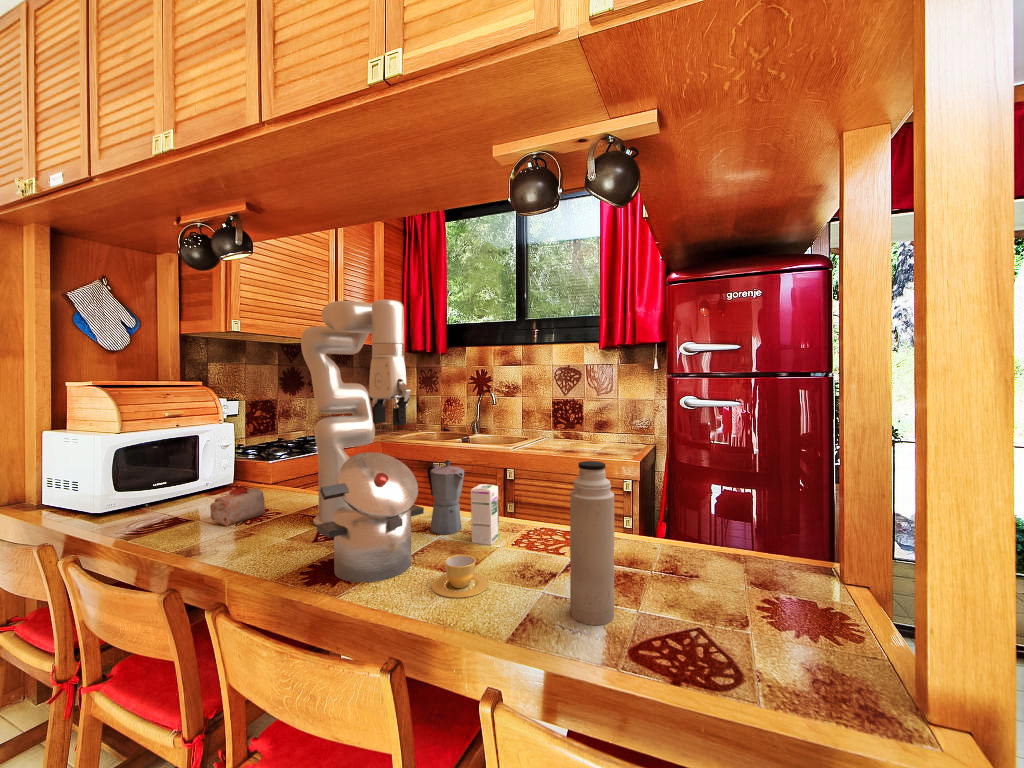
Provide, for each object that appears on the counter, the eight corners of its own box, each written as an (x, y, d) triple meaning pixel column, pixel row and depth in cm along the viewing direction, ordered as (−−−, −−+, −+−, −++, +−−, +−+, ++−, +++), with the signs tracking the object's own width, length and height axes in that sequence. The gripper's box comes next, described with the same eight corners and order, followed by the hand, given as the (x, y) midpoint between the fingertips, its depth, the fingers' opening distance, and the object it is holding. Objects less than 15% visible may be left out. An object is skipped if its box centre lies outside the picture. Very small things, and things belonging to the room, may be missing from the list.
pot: (306, 571, 104) (306, 513, 103) (398, 543, 121) (397, 494, 120) (344, 598, 91) (344, 532, 91) (440, 563, 108) (440, 507, 108)
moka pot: (452, 540, 123) (451, 465, 123) (413, 528, 132) (413, 459, 132) (475, 530, 131) (475, 460, 130) (437, 520, 140) (437, 454, 140)
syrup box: (491, 545, 119) (491, 489, 119) (470, 543, 121) (470, 488, 121) (499, 538, 124) (499, 484, 124) (479, 535, 126) (478, 483, 126)
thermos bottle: (601, 600, 90) (601, 457, 89) (622, 621, 82) (622, 465, 82) (563, 606, 88) (563, 459, 87) (581, 628, 80) (581, 467, 79)
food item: (225, 528, 133) (225, 494, 133) (207, 525, 136) (207, 492, 136) (267, 515, 146) (267, 484, 146) (250, 512, 149) (249, 482, 149)
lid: (428, 509, 106) (433, 501, 105) (336, 532, 90) (340, 523, 89) (395, 452, 116) (400, 444, 114) (307, 464, 100) (310, 455, 98)
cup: (492, 597, 92) (492, 570, 92) (431, 602, 90) (431, 574, 90) (485, 571, 104) (485, 548, 104) (431, 575, 102) (431, 551, 102)
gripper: (356, 353, 114) (357, 422, 115) (394, 349, 102) (395, 427, 103) (383, 354, 120) (384, 420, 120) (422, 350, 108) (423, 424, 108)
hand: (389, 423), depth 111 cm, fingers open, 8 cm apart
